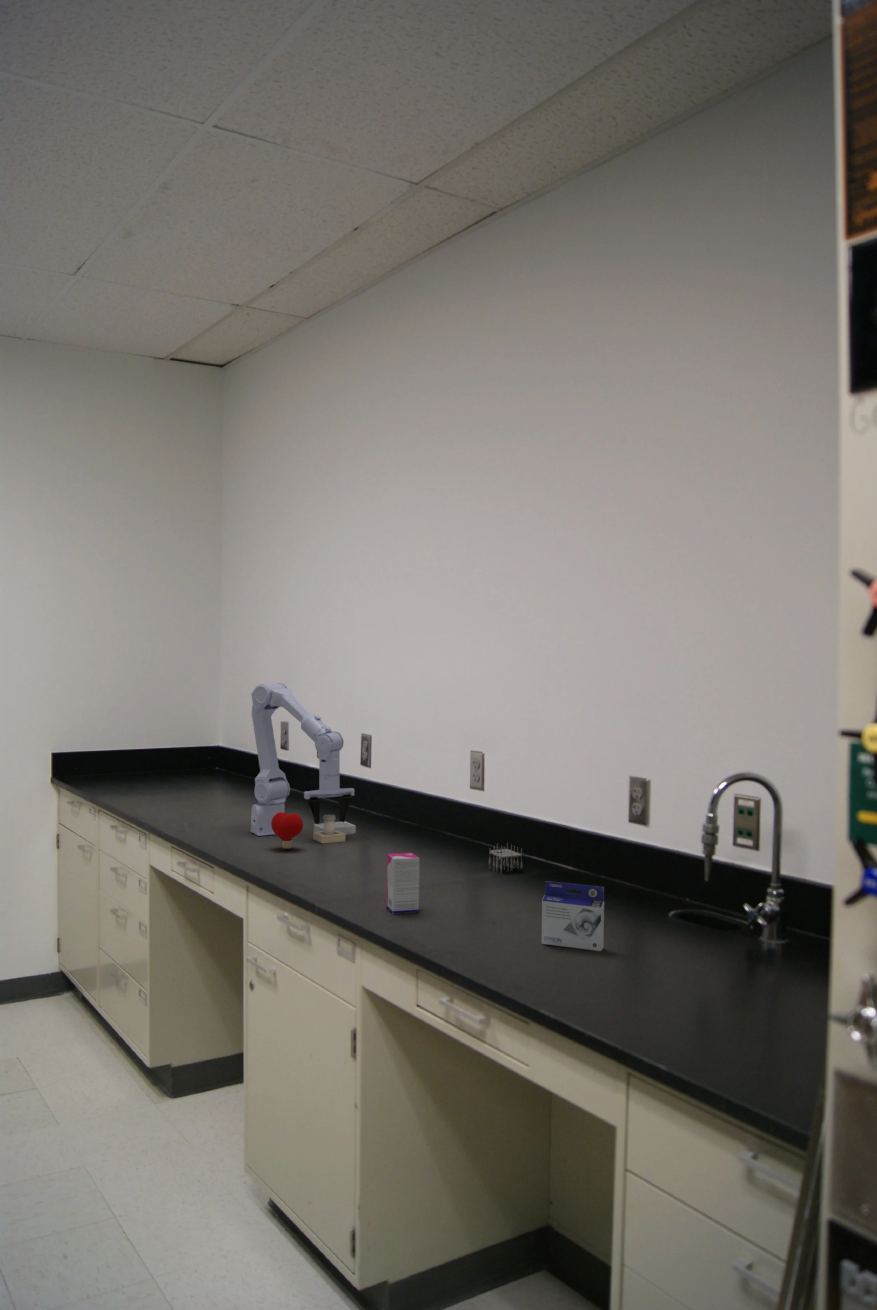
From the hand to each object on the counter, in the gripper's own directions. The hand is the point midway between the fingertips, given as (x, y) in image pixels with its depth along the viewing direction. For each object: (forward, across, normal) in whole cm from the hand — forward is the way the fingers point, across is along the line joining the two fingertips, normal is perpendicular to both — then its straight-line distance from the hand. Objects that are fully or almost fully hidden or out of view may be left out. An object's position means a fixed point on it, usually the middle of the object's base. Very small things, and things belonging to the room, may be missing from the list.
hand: (329, 822), depth 277 cm
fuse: (+5, 0, 0) cm, 5 cm away
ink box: (+6, +4, -112) cm, 112 cm away
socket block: (+5, 0, 0) cm, 5 cm away
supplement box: (+6, -13, -75) cm, 76 cm away
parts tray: (+5, +5, +9) cm, 11 cm away
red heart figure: (+5, -15, -7) cm, 17 cm away
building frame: (+6, +25, -54) cm, 60 cm away
